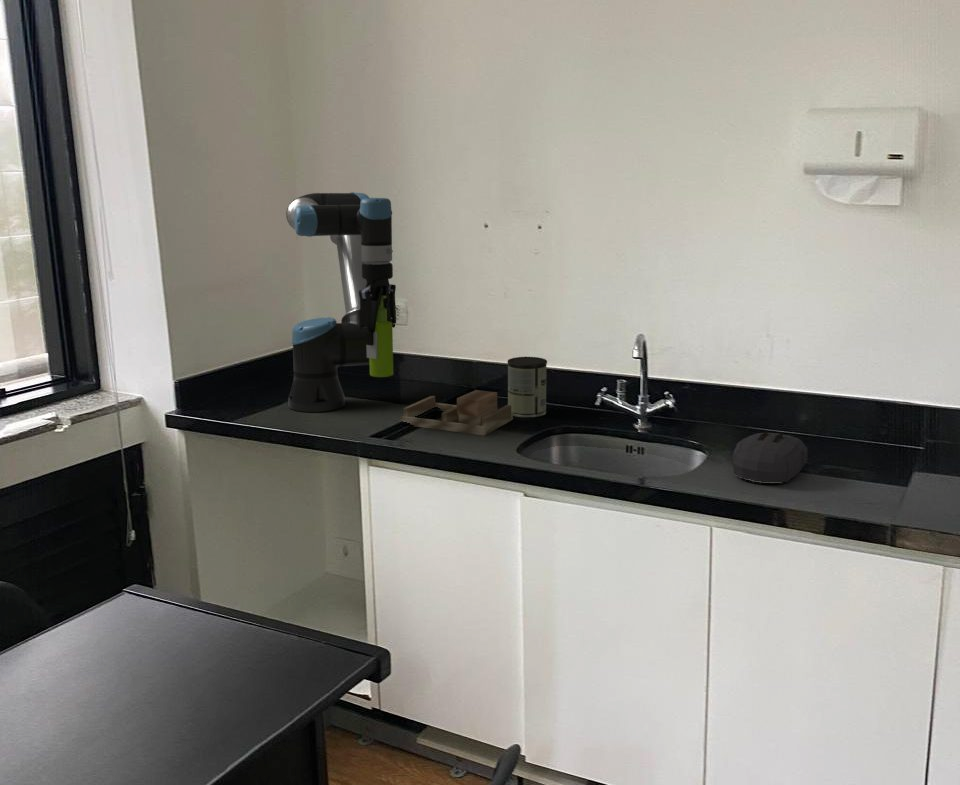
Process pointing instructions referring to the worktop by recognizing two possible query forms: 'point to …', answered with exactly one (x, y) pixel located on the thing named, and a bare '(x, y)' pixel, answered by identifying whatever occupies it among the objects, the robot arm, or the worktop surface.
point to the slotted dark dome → (769, 457)
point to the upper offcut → (477, 403)
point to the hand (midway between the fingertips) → (379, 355)
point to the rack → (454, 418)
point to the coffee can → (527, 386)
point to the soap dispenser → (383, 345)
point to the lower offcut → (473, 418)
